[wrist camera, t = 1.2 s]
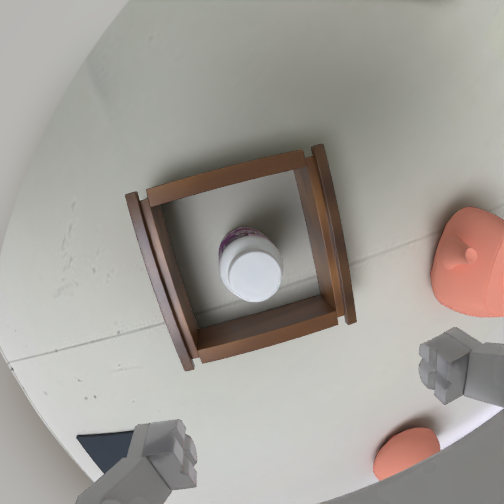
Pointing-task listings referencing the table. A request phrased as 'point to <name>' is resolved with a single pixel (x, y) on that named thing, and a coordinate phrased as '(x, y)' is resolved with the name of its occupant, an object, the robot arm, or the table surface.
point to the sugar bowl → (405, 451)
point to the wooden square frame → (264, 323)
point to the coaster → (106, 448)
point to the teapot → (471, 264)
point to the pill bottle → (250, 264)
